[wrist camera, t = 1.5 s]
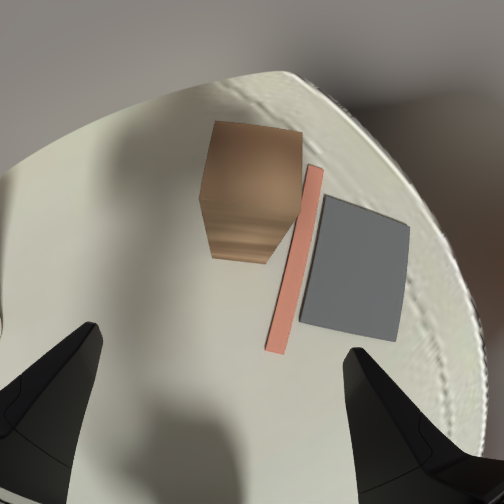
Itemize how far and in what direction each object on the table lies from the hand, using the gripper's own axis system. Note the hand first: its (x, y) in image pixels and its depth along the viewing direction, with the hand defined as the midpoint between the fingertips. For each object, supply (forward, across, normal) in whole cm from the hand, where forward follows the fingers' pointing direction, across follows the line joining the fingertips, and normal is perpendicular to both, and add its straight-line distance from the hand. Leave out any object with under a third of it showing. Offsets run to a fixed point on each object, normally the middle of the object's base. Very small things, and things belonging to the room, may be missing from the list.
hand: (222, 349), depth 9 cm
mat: (+14, -12, +6) cm, 19 cm away
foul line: (+15, -6, +5) cm, 17 cm away
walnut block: (+16, -1, +4) cm, 16 cm away
